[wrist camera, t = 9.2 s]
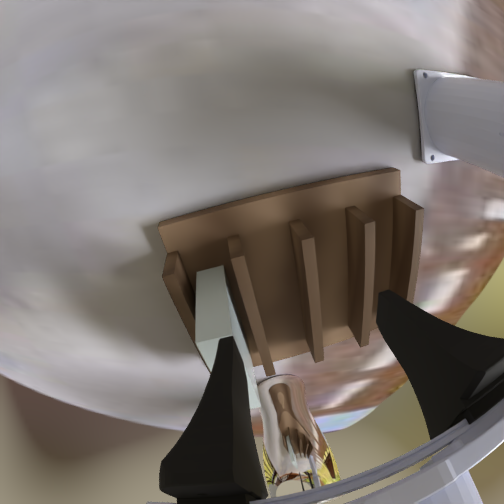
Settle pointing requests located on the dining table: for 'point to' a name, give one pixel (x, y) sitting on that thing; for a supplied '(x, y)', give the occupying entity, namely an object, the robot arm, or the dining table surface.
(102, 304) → the dining table surface
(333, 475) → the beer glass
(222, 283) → the tile
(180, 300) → the rack
